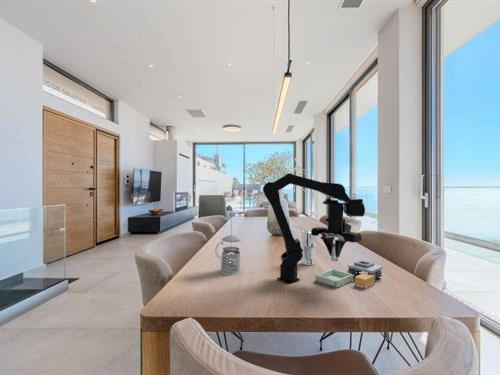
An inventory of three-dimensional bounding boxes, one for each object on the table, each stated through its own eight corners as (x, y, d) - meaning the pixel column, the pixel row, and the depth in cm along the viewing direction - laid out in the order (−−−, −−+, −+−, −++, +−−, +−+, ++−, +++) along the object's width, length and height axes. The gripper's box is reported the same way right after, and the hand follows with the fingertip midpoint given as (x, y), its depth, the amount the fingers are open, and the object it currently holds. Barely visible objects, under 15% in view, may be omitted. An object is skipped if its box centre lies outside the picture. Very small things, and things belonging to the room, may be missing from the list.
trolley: (371, 283, 102) (371, 268, 102) (347, 276, 110) (347, 262, 110) (382, 277, 108) (382, 264, 108) (358, 271, 116) (358, 258, 116)
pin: (335, 261, 102) (335, 244, 102) (329, 260, 104) (330, 243, 104) (339, 260, 104) (339, 243, 104) (333, 259, 106) (333, 242, 106)
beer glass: (298, 264, 126) (299, 232, 126) (303, 260, 132) (303, 230, 132) (313, 266, 122) (314, 233, 122) (317, 262, 129) (317, 231, 128)
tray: (336, 288, 97) (336, 281, 97) (315, 281, 104) (315, 274, 103) (353, 281, 104) (353, 274, 104) (332, 274, 111) (333, 268, 111)
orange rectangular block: (365, 289, 97) (365, 279, 97) (354, 286, 100) (355, 276, 100) (374, 284, 101) (374, 275, 101) (364, 281, 104) (364, 272, 104)
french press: (239, 276, 109) (239, 214, 108) (211, 273, 111) (212, 213, 111) (244, 268, 118) (245, 212, 118) (219, 266, 120) (219, 211, 120)
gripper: (369, 217, 102) (368, 258, 102) (326, 212, 116) (325, 248, 116) (354, 219, 95) (353, 263, 95) (310, 214, 109) (309, 252, 109)
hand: (334, 256), depth 104 cm, fingers closed on pin, 2 cm apart
